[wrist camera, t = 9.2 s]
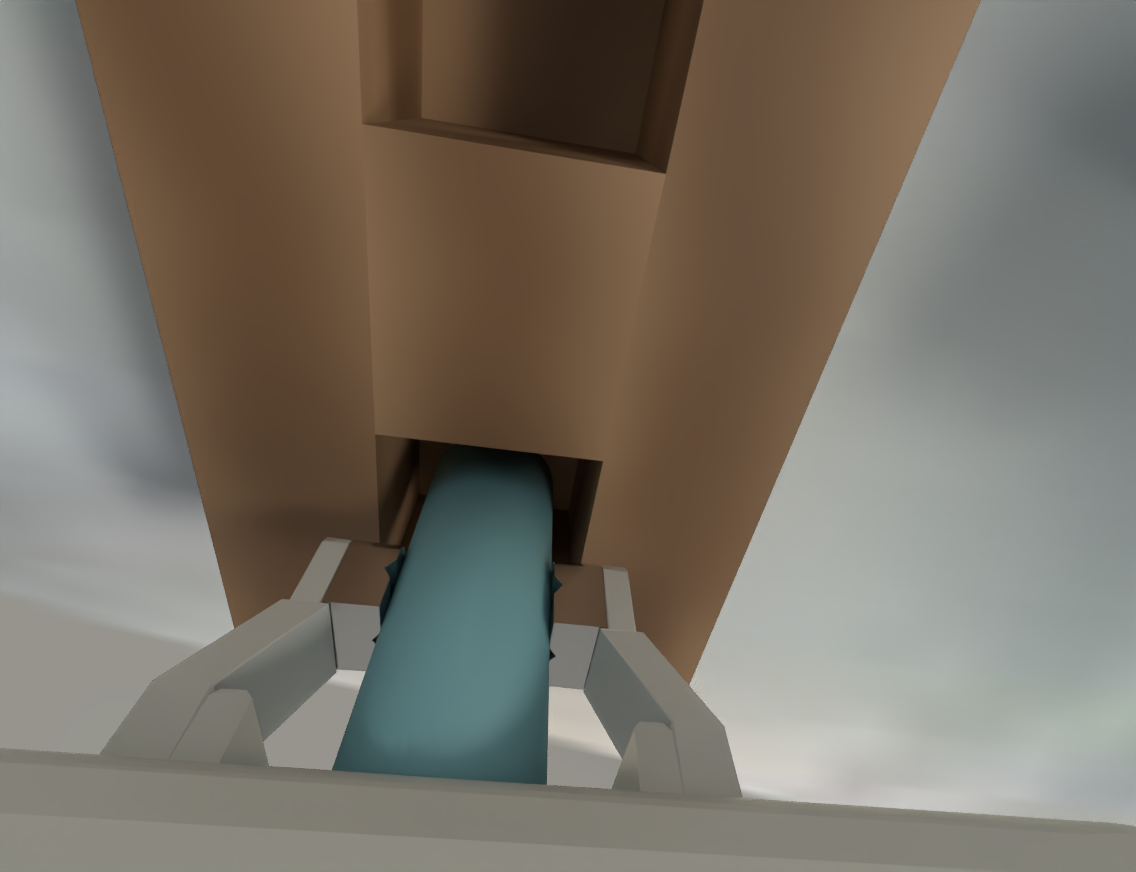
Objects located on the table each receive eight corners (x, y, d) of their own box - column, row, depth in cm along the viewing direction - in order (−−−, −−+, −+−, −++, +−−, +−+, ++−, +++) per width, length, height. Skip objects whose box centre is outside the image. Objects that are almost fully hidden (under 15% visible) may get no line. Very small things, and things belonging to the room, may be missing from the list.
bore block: (932, -294, 9) (1251, -635, 5) (659, 562, 20) (686, 691, 15) (192, -478, 8) (-204, -1100, 4) (314, 526, 19) (240, 653, 14)
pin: (560, 442, 13) (559, 804, 6) (545, 535, 15) (532, 907, 8) (435, 427, 13) (294, 788, 6) (433, 523, 14) (318, 897, 8)
